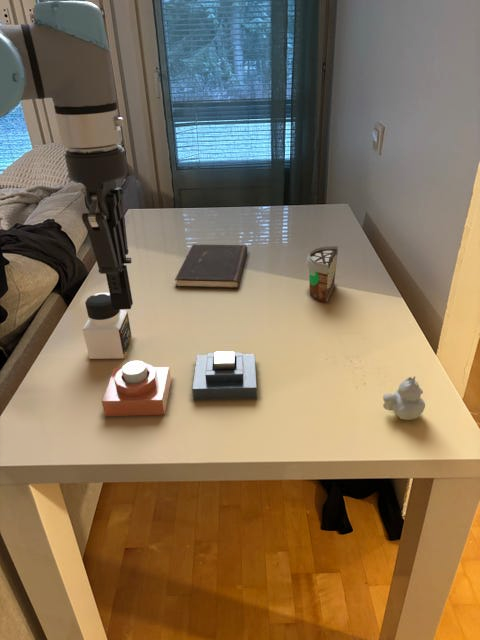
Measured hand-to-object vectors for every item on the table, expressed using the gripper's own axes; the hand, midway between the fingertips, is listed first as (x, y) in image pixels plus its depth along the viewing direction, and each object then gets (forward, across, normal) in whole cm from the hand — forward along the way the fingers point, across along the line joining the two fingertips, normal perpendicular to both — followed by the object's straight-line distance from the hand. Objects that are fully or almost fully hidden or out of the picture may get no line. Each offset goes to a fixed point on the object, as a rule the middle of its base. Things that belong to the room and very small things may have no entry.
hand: (122, 306), depth 72 cm
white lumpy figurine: (+19, -6, -44) cm, 48 cm away
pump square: (+15, +4, -15) cm, 21 cm away
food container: (+19, +38, -37) cm, 56 cm away
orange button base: (+18, 0, 0) cm, 18 cm away
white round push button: (+14, 0, 0) cm, 14 cm away
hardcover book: (+19, +53, -11) cm, 57 cm away
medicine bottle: (+19, +15, +8) cm, 26 cm away
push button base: (+18, +4, -15) cm, 24 cm away
